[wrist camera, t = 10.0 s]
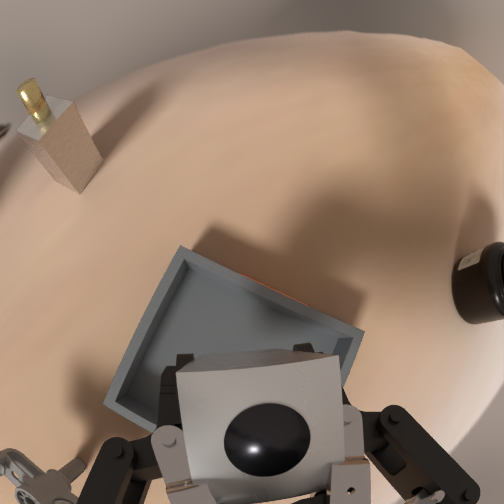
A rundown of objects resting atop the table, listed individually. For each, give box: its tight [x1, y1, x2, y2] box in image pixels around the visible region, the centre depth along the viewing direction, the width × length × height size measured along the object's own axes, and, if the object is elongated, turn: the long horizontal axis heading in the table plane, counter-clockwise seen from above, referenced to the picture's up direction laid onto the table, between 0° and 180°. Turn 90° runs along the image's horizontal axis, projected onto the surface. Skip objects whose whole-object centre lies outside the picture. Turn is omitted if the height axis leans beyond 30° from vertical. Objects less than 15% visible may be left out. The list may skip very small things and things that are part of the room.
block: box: [176, 348, 345, 504], centre depth 11 cm, size 4×4×10 cm
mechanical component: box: [0, 448, 85, 504], centre depth 12 cm, size 3×10×10 cm, turn 64°
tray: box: [103, 245, 365, 433], centre depth 20 cm, size 16×14×4 cm
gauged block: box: [16, 78, 104, 194], centre depth 19 cm, size 4×4×14 cm
